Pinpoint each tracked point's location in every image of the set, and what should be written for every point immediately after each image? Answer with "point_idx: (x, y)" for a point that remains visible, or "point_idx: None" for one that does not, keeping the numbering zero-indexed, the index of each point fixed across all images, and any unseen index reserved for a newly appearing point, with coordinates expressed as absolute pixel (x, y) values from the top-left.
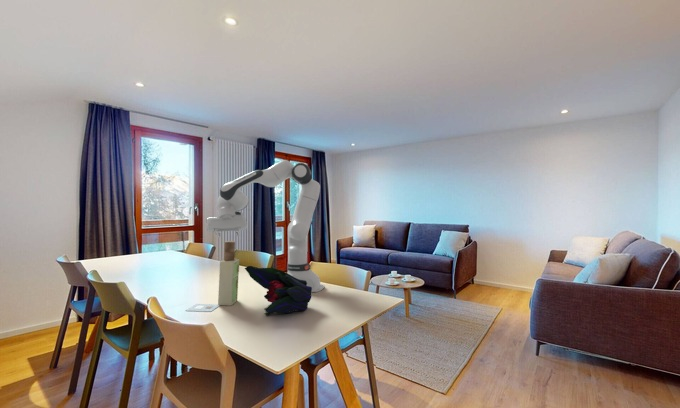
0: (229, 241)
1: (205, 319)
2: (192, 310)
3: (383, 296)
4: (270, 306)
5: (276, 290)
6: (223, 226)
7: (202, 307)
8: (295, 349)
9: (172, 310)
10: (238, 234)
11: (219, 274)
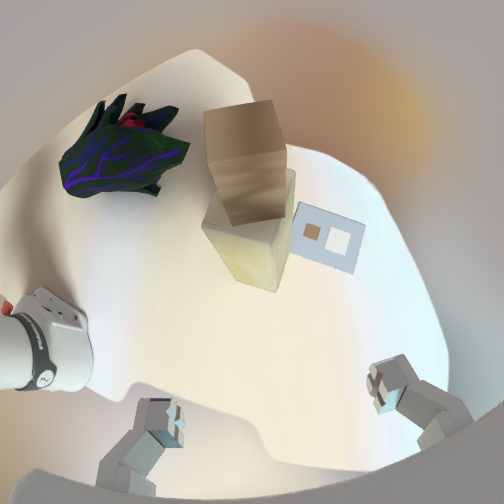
0: (243, 127)
1: (302, 161)
2: (348, 220)
3: None
4: (166, 107)
5: (140, 103)
6: (377, 487)
7: (329, 235)
8: (168, 68)
9: (396, 239)
10: (148, 398)
11: (293, 203)
